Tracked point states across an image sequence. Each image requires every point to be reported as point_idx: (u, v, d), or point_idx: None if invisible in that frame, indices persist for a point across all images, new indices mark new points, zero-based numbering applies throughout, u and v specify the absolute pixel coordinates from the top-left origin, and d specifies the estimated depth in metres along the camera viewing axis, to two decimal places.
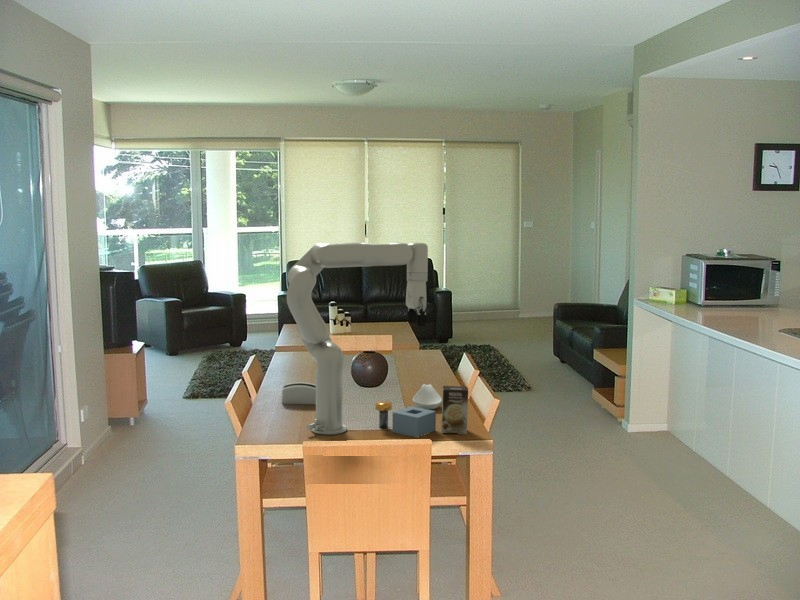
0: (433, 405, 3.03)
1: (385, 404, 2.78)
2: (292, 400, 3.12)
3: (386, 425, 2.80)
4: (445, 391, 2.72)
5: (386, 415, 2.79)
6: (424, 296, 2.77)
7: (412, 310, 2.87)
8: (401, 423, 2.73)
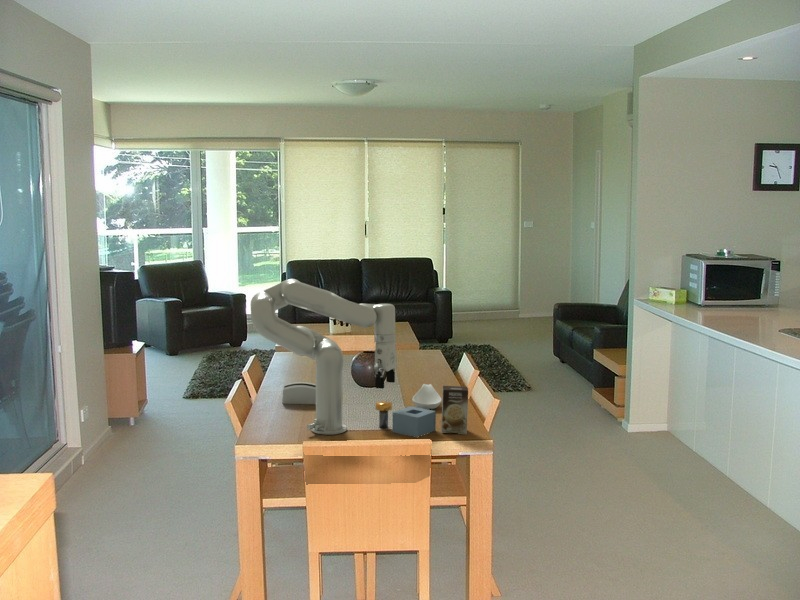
0: (433, 405, 3.03)
1: (385, 404, 2.78)
2: (293, 400, 3.12)
3: (386, 425, 2.80)
4: (445, 391, 2.72)
5: (386, 415, 2.79)
6: None
7: None
8: (401, 423, 2.73)
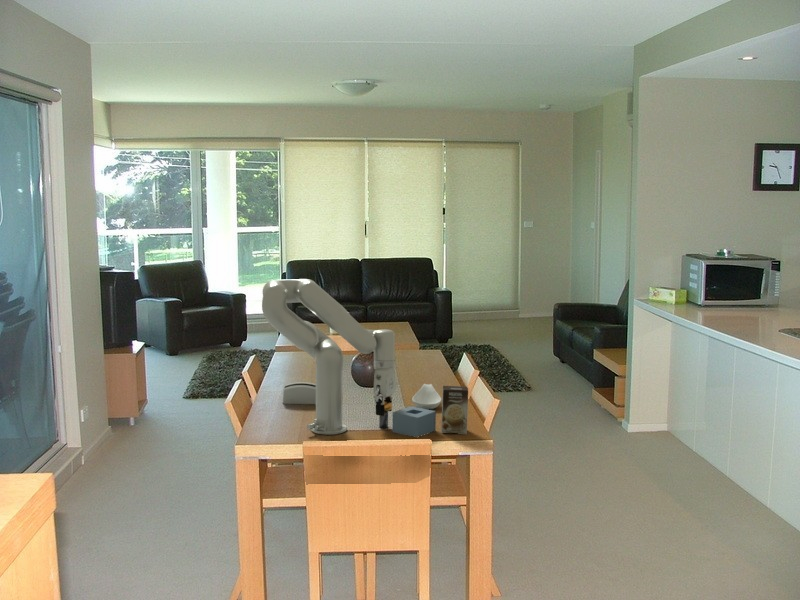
0: (432, 405, 3.04)
1: (385, 404, 2.78)
2: (293, 400, 3.12)
3: (386, 425, 2.80)
4: (445, 391, 2.72)
5: (386, 415, 2.79)
6: None
7: None
8: (401, 423, 2.73)
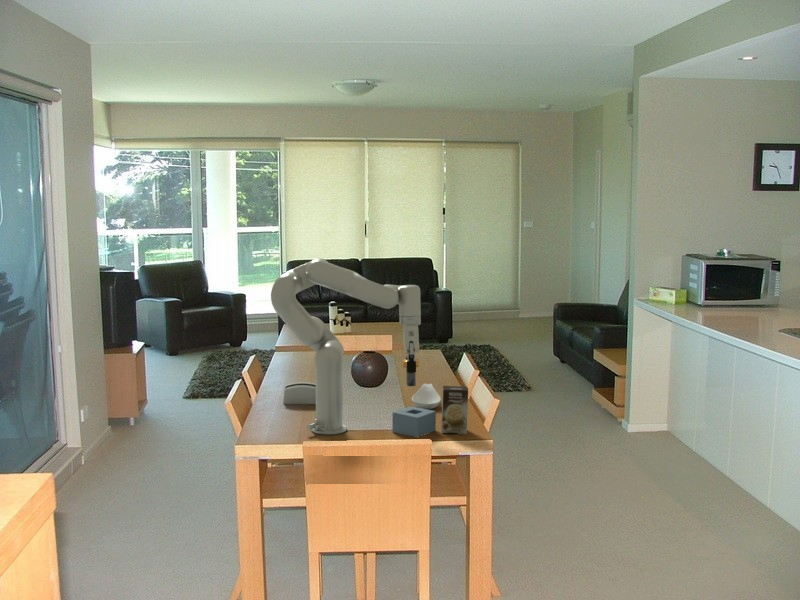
0: (431, 404, 3.04)
1: None
2: (294, 400, 3.12)
3: (415, 382, 2.75)
4: (445, 391, 2.72)
5: (415, 372, 2.74)
6: None
7: None
8: (401, 423, 2.73)
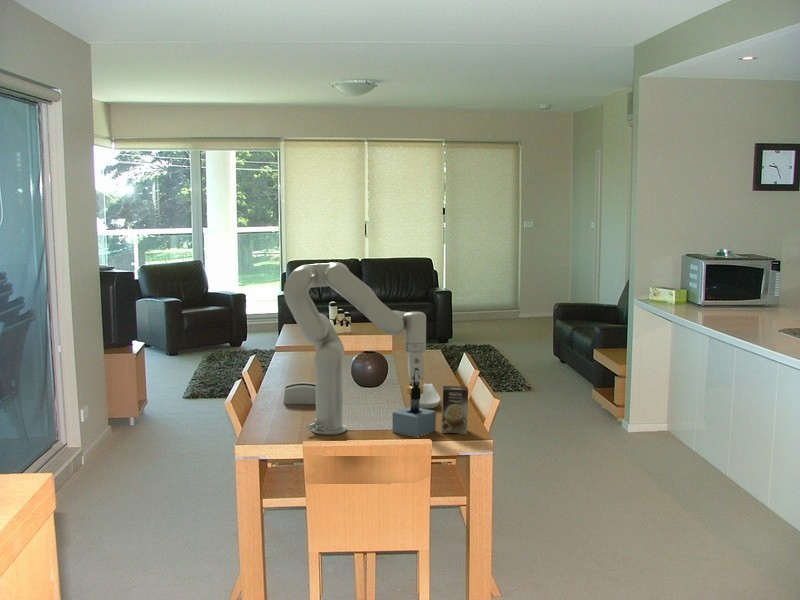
0: (430, 404, 3.04)
1: None
2: (294, 400, 3.12)
3: None
4: (445, 391, 2.72)
5: (419, 399, 2.74)
6: None
7: None
8: (401, 423, 2.73)
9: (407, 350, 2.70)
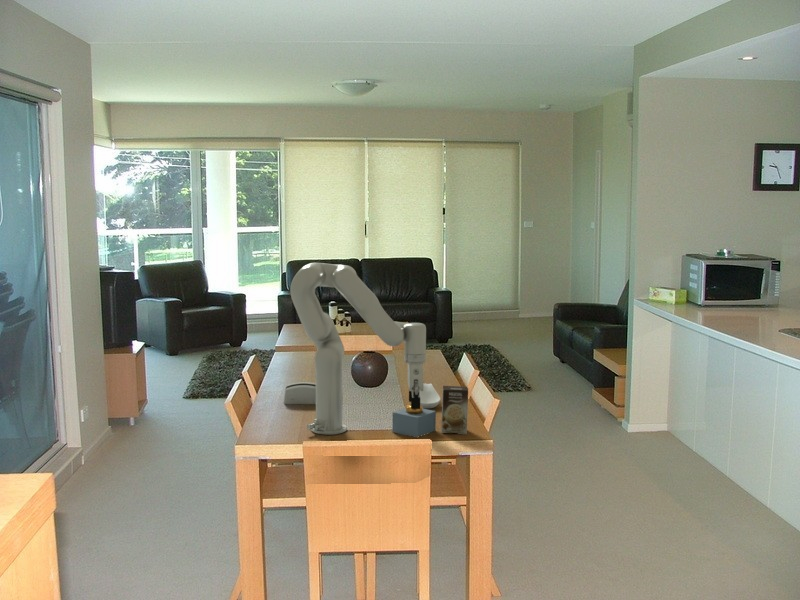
0: (431, 404, 3.05)
1: None
2: (295, 400, 3.12)
3: None
4: (445, 391, 2.72)
5: None
6: None
7: None
8: (401, 423, 2.73)
9: (407, 361, 2.71)
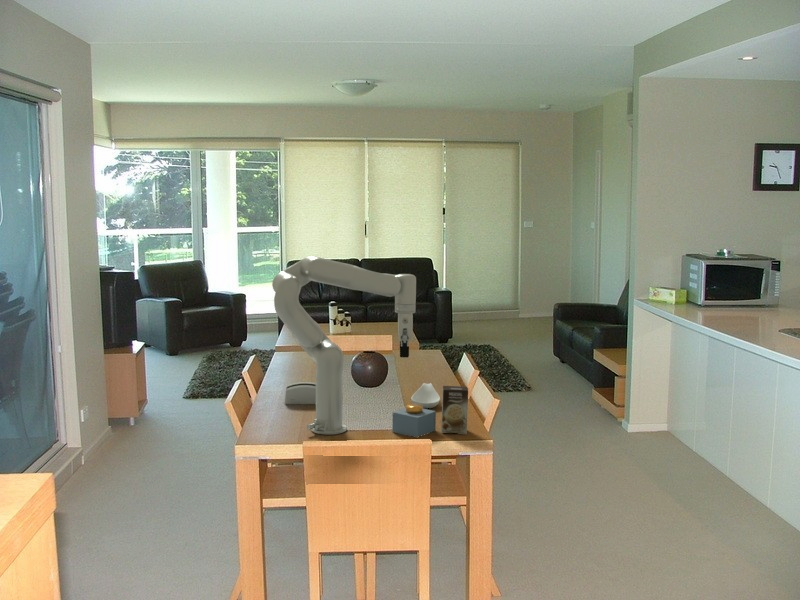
0: (430, 404, 3.05)
1: (418, 407, 2.74)
2: (295, 400, 3.12)
3: None
4: (445, 391, 2.72)
5: None
6: None
7: None
8: (401, 423, 2.73)
9: (397, 311, 2.79)
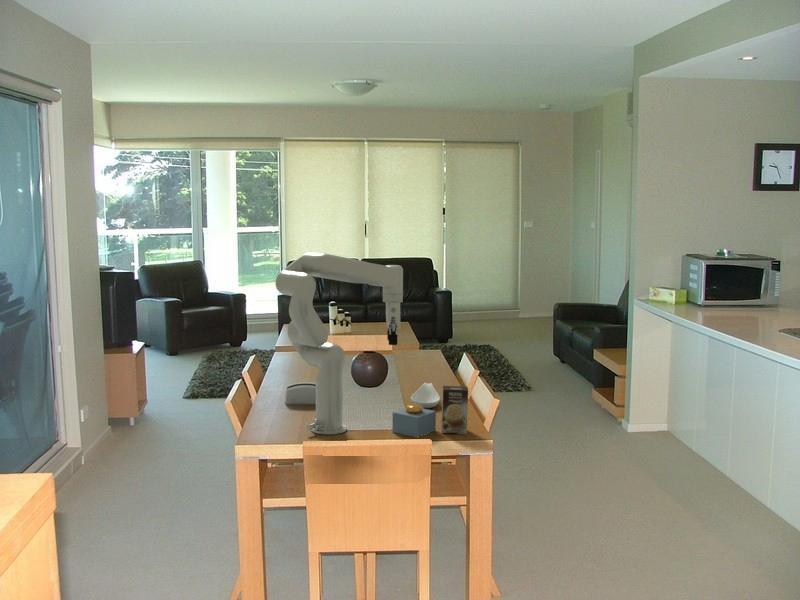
0: (430, 404, 3.05)
1: (418, 407, 2.74)
2: (296, 400, 3.12)
3: None
4: (445, 391, 2.72)
5: None
6: None
7: None
8: (401, 423, 2.73)
9: (385, 300, 2.90)
